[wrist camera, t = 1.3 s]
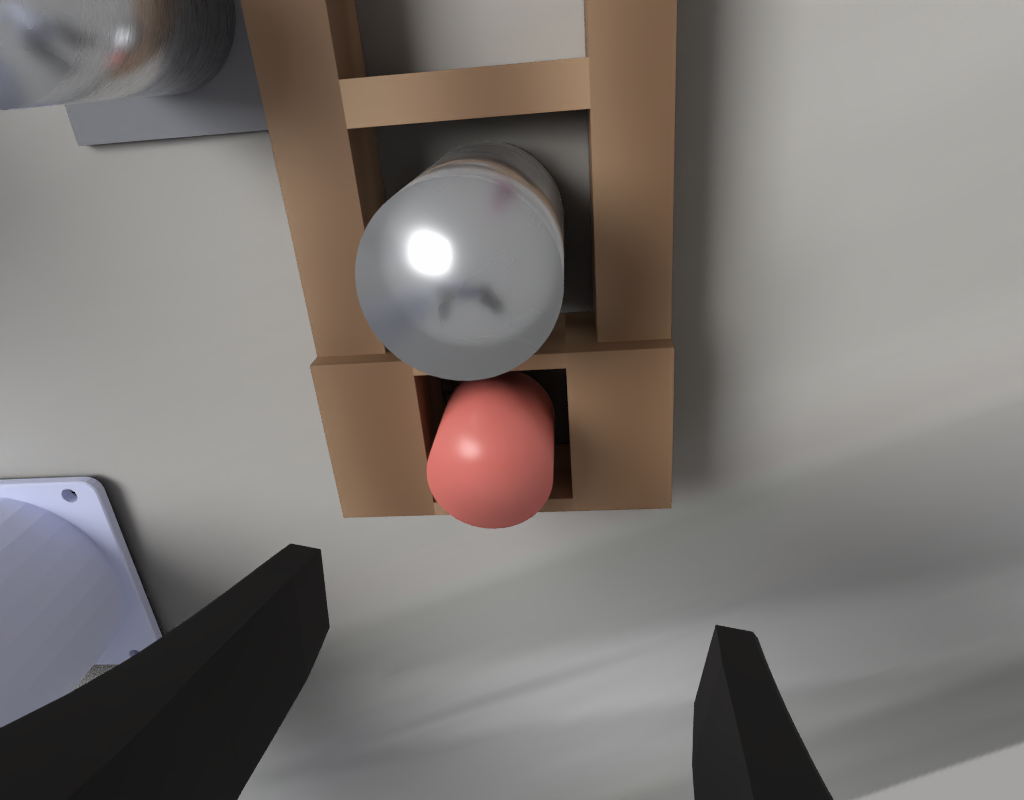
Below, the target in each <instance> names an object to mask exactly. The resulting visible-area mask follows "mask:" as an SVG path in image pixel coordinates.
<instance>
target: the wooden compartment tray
mask: <svg viewBox="0 0 1024 800" xmlns="http://www.w3.org/2000/svg"><path fill="white" fill-rule="evenodd" d="M240 1H241V6H242V10H243V15H244V19H245V24H246V29H247V33H248V38H249V43H250V47H251V52H252V56H253V61H254V66H255V70H256V75H257V80H258V84H259V89H260V93H261V98H262V103H263V107H264V112H265V117H266V121H267V126H268V130H269V135H270V140H271V144H272V149H273V154H274V158H275V163H276V167H277V172H278V177H279V181H280V186H281V191H282V195H283V200H284V205H285V209H286V214H287V218H288V223H289V228H290V232H291V237H292V242H293V246H294V251H295V255H296V260H297V265H298V269H299V274H300V279H301V283H302V288H303V292H304V297H305V302H306V306H307V311H308V316H309V320H310V325H311V329H312V334H313V339H314V343H315V348H316V353H317V358H316V359H315V360H314V362H313V363H312V364H311V365H310V369H311V373H312V378H313V382H314V387H315V391H316V396H317V400H318V405H319V409H320V414H321V418H322V423H323V427H324V432H325V436H326V441H327V445H328V450H329V454H330V459H331V463H332V468H333V472H334V477H335V481H336V486H337V490H338V495H339V499H340V504H341V508H342V513H343V517H344V518H350V517H384V516H419V515H450V514H449V513H448V512H446V511H445V510H444V509H443V508H442V507H441V506H440V505H439V503H438V502H437V501H436V499H435V498H434V496H433V494H432V493H431V490H430V488H429V485H428V480H427V472H426V471H427V462H428V458H429V455H430V452H431V449H432V446H433V443H434V440H435V437H436V434H437V431H438V428H439V425H440V422H441V420H442V417H443V414H444V404H443V397H442V389H441V382H440V378H439V377H435V376H432V375H429V374H426V373H424V372H421V371H419V370H417V369H415V368H413V367H411V366H409V365H408V364H406V363H405V362H403V361H402V360H400V359H399V358H397V357H396V356H395V355H394V354H393V353H392V352H391V351H389V350H388V349H387V348H386V347H385V346H384V344H383V343H382V342H381V341H380V340H379V339H378V338H377V336H376V335H375V333H374V332H373V330H372V329H371V327H370V326H369V324H368V322H367V320H366V318H365V316H364V314H363V311H362V309H361V306H360V303H359V299H358V295H357V291H356V282H355V263H356V256H357V251H358V247H359V244H360V241H361V238H362V236H363V233H364V231H365V229H366V227H367V225H368V224H369V222H370V220H371V219H372V217H373V216H374V214H375V213H376V212H377V211H378V210H379V209H380V208H381V206H382V205H383V204H384V203H386V199H385V192H384V186H383V179H382V173H381V166H380V160H379V154H378V147H377V141H376V134H375V128H374V127H375V126H387V125H399V124H411V123H423V122H435V121H447V120H459V119H471V118H483V117H495V116H507V115H519V114H531V113H543V112H555V111H567V110H579V109H587V113H588V144H589V175H590V205H591V236H592V267H593V298H594V311H592V312H574V313H559V316H558V319H557V321H556V323H555V326H554V328H553V330H552V331H551V333H550V335H549V336H548V338H547V339H546V341H545V342H544V343H543V345H542V346H541V347H540V348H539V349H538V350H537V351H536V352H535V353H534V354H533V355H532V356H531V357H530V358H529V359H528V360H526V361H525V362H523V363H522V364H520V365H519V366H517V367H515V368H514V369H512V370H510V371H521V370H541V369H562V368H566V374H567V393H568V412H569V431H570V444H554V465H553V485H552V489H551V493H550V495H549V497H548V499H547V501H546V503H545V504H544V505H543V507H542V508H541V509H540V510H539V511H538V512H557V511H592V510H626V509H661V508H671V502H672V451H673V400H674V350H675V348H674V345H673V342H672V340H671V316H672V259H673V201H674V143H675V86H676V28H677V0H584V21H585V51H586V57H585V58H574V59H563V60H552V61H541V62H530V63H518V64H507V65H496V66H485V67H474V68H463V69H452V70H441V71H430V72H419V73H408V74H397V75H385V76H374V77H367V76H366V70H365V63H364V57H363V50H362V44H361V37H360V31H359V24H358V18H357V12H356V5H355V0H240Z"/></svg>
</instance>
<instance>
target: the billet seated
mask: <svg viewBox="0 0 1024 800" xmlns="http://www.w3.org/2000/svg"><path fill="white" fill-rule="evenodd" d="M355 282H356V291H357V295H358V299H359V303H360V306H361V309H362V311H363V314H364V316H365V318H366V320H367V322H368V324H369V326H370V327H371V329H372V330H373V332H374V333H375V335H376V336H377V338H378V339H379V340H380V341H381V342H382V343H383V344H384V346H385V347H386V348H387V349H388V350H389V351H391V352H392V353H393V354H394V355H395V356H396V357H397V358H399V359H400V360H402V361H403V362H405V363H406V364H408V365H409V366H411V367H413V368H415V369H417V370H419V371H421V372H424V373H426V374H429V375H432V376H435V377H439V378H443V379H449V380H457V381H472V380H481V379H486V378H490V377H495V376H497V375H500V374H503V373H506V372H508V371H510V370H512V369H514V368H515V367H517V366H519V365H520V364H522V363H523V362H525V361H526V360H528V359H529V358H530V357H531V356H532V355H533V354H534V353H535V352H536V351H537V350H538V349H539V348H540V347H541V346H542V345H543V343H544V342H545V341H546V339H547V338H548V336H549V335H550V333H551V331H552V330H553V328H554V326H555V323H556V321H557V319H558V316H559V313H560V309H561V306H562V300H563V293H564V210H563V203H562V199H561V195H560V193H559V190H558V187H557V185H556V183H555V181H554V180H553V178H552V176H551V175H550V173H549V172H548V171H547V169H546V168H545V167H544V166H543V165H542V164H541V163H540V162H539V161H538V160H537V159H536V158H534V157H533V156H532V155H531V154H529V153H527V152H526V151H524V150H522V149H520V148H518V147H516V146H513V145H510V144H507V143H503V142H496V141H479V142H472V143H468V144H465V145H462V146H460V147H457V148H455V149H453V150H451V151H450V152H448V153H447V154H445V155H444V156H443V157H441V158H440V159H439V160H437V161H436V162H435V163H434V164H432V165H431V166H430V167H429V168H427V169H426V170H425V171H424V172H422V173H421V174H420V175H419V176H417V177H416V178H415V179H414V180H412V181H411V182H410V183H409V184H407V185H406V186H405V187H404V188H402V189H401V190H400V191H399V192H397V193H396V194H395V195H394V196H392V197H391V198H390V199H389V200H388V201H387V202H386V203H384V204H383V205H382V206H381V208H380V209H379V210H378V211H377V212H376V213H375V214H374V216H373V217H372V219H371V220H370V222H369V224H368V225H367V227H366V229H365V231H364V233H363V236H362V238H361V241H360V244H359V247H358V251H357V256H356V263H355Z"/></svg>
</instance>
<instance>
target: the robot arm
mask: <svg viewBox="0 0 1024 800" xmlns="http://www.w3.org/2000/svg"><path fill="white" fill-rule="evenodd" d="M70 490H72V491H74V492H75V493H76V495H75V494H73V493H72V492H71V491H70ZM328 630H329V618H328V609H327V600H326V591H325V583H324V574H323V565H322V556H321V549H316V548H311V547H306V546H301V545H295V544H289V545H288V546H287V547H285V548H284V549H282V550H281V551H280V552H278V553H277V554H275V555H274V556H273V557H271V558H270V559H269V560H267V561H266V562H265V563H263V564H262V565H261V566H259V567H258V568H257V569H255V570H254V571H253V572H252V573H250V574H249V575H248V576H246V577H245V578H244V579H242V580H241V581H240V582H238V583H237V584H236V585H234V586H233V587H232V588H230V589H229V590H228V591H226V592H225V593H224V594H222V595H221V596H219V597H218V598H217V599H215V600H214V601H212V602H211V603H210V604H208V605H207V606H206V607H204V608H203V609H201V610H200V611H199V612H197V613H196V614H195V615H193V616H192V617H190V618H189V619H188V620H186V621H185V622H183V623H182V624H180V625H179V626H177V627H176V628H174V629H173V630H171V631H170V632H168V633H167V634H165V635H164V636H162V635H161V632H160V630H159V627H158V624H157V622H156V619H155V617H154V614H153V612H152V609H151V607H150V604H149V601H148V599H147V596H146V594H145V591H144V589H143V586H142V584H141V581H140V578H139V576H138V573H137V571H136V568H135V566H134V563H133V561H132V558H131V555H130V553H129V550H128V548H127V545H126V543H125V540H124V537H123V535H122V532H121V530H120V527H119V525H118V522H117V520H116V517H115V514H114V512H113V509H112V507H111V504H110V502H109V499H108V497H107V494H106V491H105V489H104V487H103V486H102V484H101V483H100V482H99V481H97V480H96V479H93V478H91V477H60V478H33V479H5V480H0V800H237V799H238V797H239V796H240V794H241V792H242V790H243V788H244V787H245V785H246V783H247V782H248V780H249V778H250V776H251V775H252V773H253V771H254V770H255V768H256V766H257V764H258V763H259V761H260V759H261V758H262V756H263V754H264V753H265V751H266V749H267V747H268V746H269V744H270V742H271V741H272V739H273V737H274V736H275V734H276V732H277V730H278V729H279V727H280V725H281V724H282V722H283V720H284V719H285V717H286V715H287V713H288V712H289V710H290V708H291V706H292V705H293V703H294V701H295V699H296V698H297V696H298V694H299V693H300V691H301V689H302V687H303V685H304V684H305V682H306V680H307V678H308V676H309V674H310V672H311V669H312V667H313V665H314V663H315V660H316V658H317V656H318V654H319V651H320V649H321V646H322V644H323V642H324V639H325V637H326V634H327V632H328ZM116 664H119V665H117V666H116V667H114V668H112V669H111V670H109V671H107V672H106V673H104V674H102V675H100V676H99V677H97V678H95V679H93V680H92V681H90V682H88V683H86V684H84V685H83V686H81V687H79V688H77V689H76V690H75V688H76V687H77V686H78V684H79V683H80V682H81V681H82V679H83V678H84V677H85V675H86V674H87V673H88V672H89V670H90V669H91V668H92V666H93V665H116ZM692 769H693V784H694V798H695V800H833V798H832V796H831V794H830V793H829V791H828V789H827V787H826V785H825V784H824V782H823V780H822V778H821V776H820V774H819V772H818V770H817V769H816V767H815V765H814V763H813V761H812V759H811V757H810V755H809V753H808V751H807V749H806V747H805V745H804V743H803V741H802V739H801V737H800V735H799V733H798V731H797V729H796V727H795V725H794V723H793V721H792V719H791V716H790V714H789V712H788V710H787V708H786V706H785V703H784V701H783V699H782V697H781V694H780V692H779V690H778V688H777V685H776V683H775V681H774V678H773V676H772V674H771V671H770V669H769V666H768V664H767V661H766V659H765V656H764V654H763V651H762V648H761V646H760V643H759V640H758V638H757V637H756V635H755V634H754V633H753V632H751V631H746V630H740V629H735V628H730V627H725V626H719V625H716V626H715V629H714V633H713V637H712V640H711V644H710V648H709V651H708V655H707V659H706V662H705V666H704V670H703V673H702V677H701V681H700V684H699V688H698V691H697V695H696V699H695V702H694V722H693V752H692Z"/></svg>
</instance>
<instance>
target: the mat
mask: <svg viewBox="0 0 1024 800" xmlns="http://www.w3.org/2000/svg"><path fill="white" fill-rule="evenodd" d="M234 4H235V14H236V24H235V35H234V40H233V44H232V47H231V51H230V54H229V56H228V58H227V60H226V62H225V64H224V65H223V67H222V68H221V70H220V71H219V72H218V73H217V74H216V75H215V76H214V78H213V79H212V80H210V81H209V82H208V83H206V84H205V85H203V86H201V87H200V88H198V89H196V90H193V91H190V92H187V93H182V94H175V95H164V96H153V97H142V98H131V99H119V100H108V101H97V102H86V103H75V104H65V106H66V110H67V113H68V116H69V119H70V122H71V125H72V128H73V131H74V134H75V137H76V140H77V143H78V146H83V145H95V144H107V143H119V142H131V141H143V140H155V139H166V138H178V137H190V136H202V135H214V134H226V133H238V132H250V131H262V130H268V126H267V121H266V117H265V112H264V107H263V103H262V98H261V93H260V89H259V84H258V80H257V75H256V70H255V66H254V61H253V56H252V52H251V47H250V43H249V38H248V33H247V29H246V24H245V19H244V15H243V10H242V6H241V1H240V0H234Z"/></svg>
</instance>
